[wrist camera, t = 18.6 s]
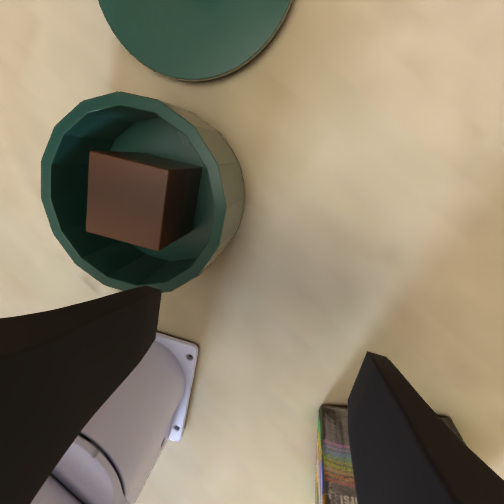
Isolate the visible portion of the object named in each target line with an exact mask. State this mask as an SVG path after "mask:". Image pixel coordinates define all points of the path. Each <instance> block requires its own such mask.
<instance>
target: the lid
mask: <svg viewBox="0 0 504 504" xmlns="http://www.w3.org/2000/svg"><path fill="white" fill-rule="evenodd" d="M98 1H99V4H100V7H101V9H102V11H103V14H104V16H105V18H106V20H107V22H108V24H109V26H110V27H111V29H112V31H113V33H114V34H115V35H116V37H117V38H118V40H119V41H120V42H121V44H122V45H123V46H124V47H125V48H126V49H127V50H128V51H129V53H130V54H131V55H133V56H134V57H135V58H136V59H137V60H139V61H140V62H141V63H142V64H144V65H146V66H147V67H149V68H150V69H152V70H154V71H156V72H158V73H160V74H162V75H164V76H167V77H170V78H173V79H177V80H183V81H206V80H212V79H216V78H219V77H222V76H225V75H228V74H230V73H232V72H234V71H236V70H238V69H240V68H241V67H243V66H244V65H245V64H247V63H248V62H250V61H251V60H252V59H253V58H254V57H256V56H257V55H258V54H259V53H260V52H261V51H262V50H263V49H264V48H265V46H266V45H267V44H268V43H269V42H270V41H271V40H272V38H273V37H274V35H275V34H276V32H277V31H278V29H279V28H280V26H281V24H282V22H283V20H284V18H285V17H286V15H287V13H288V11H289V8H290V5H291V3H292V0H98Z"/></svg>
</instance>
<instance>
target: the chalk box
mask: <svg viewBox="0 0 504 504" xmlns="http://www.w3.org/2000/svg"><path fill="white" fill-rule="evenodd" d="M439 418H440V419H441V420H442V421H443V422H444V423H445V424H446V425H447V426H448V427H449V428H450V429H451V430H452V431H453V432H454V433H455V434H456V436H457V437H458V438H459V439H460V440H461V441H462V442H463V443H464V444H465V442H464V441H463V439H462V437H461V436H460V434H459V432H458V430H457V429H456V427H455V425H454V423H453V422H452V420H451V418H445V417H442V418H441V417H439ZM465 445H466V444H465ZM315 504H357V497H356V489H355V482H354V475H353V467H352V460H351V452H350V445H349V437H348V408H346V407H336V406H329V405H322V406H321V408H320V410H319V417H318V437H317V458H316V487H315Z"/></svg>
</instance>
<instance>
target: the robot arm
mask: <svg viewBox="0 0 504 504" xmlns="http://www.w3.org/2000/svg"><path fill="white" fill-rule="evenodd" d="M161 292H162V290H159V289H156V288H153V287H149V286H141V287H137V288H133V289H129V290H126V291H122V292H119V293H115V294H112V295H108V296H105V297H101V298H98V299H95V300H91V301H87V302H83V303H79V304H75V305H71V306H67V307H63V308H59V309H54V310H50V311H45V312H40V313H34V314H28V315H22V316H16V317H8V318H0V504H134V503H135V501H136V499H137V497H138V496H139V494H140V492H141V490H142V488H143V486H144V484H145V482H146V480H147V478H148V476H149V474H150V472H151V471H152V469H153V467H154V465H155V463H156V461H157V459H158V457H159V455H160V453H161V451H162V449H163V447H164V445H165V444H166V442H167V440H168V439H170V440H173V441H180V440H181V438H182V435H183V430H184V425H185V420H186V415H187V409H188V404H189V399H190V393H191V388H192V383H193V378H194V372H195V367H196V362H197V357H198V351H199V349H198V347H197V346H196V345H195V344H193V343H190V342H187V341H184V340H180V339H177V338H174V337H171V336H167V335H164V334H161V333H158V332H156V331H157V324H158V316H159V308H160V300H161ZM188 354H190V355H192V356H193V357H190V356H189V355H188ZM348 437H349V445H350V452H351V460H352V467H353V475H354V482H355V489H356V497H357V504H504V480H503V479H502V478H500V477H499V476H498V475H497V474H496V473H495V472H494V471H493V470H492V469H491V468H490V467H488V466H487V465H486V464H485V463H484V462H483V461H482V460H481V459H480V458H479V457H478V456H477V455H476V454H475V453H473V452H472V451H471V450H470V449H469V448H468V447H467V446H466V445H465V444H464V443H463V442H462V441H461V440H460V439H459V438H458V437H457V436H456V434H455V433H454V432H453V431H452V430H451V429H450V428H449V427H448V426H447V425H446V424H445V423H444V422H443V421H442V420H441V419H440V418H439V416H438V415H437V414H436V413H435V412H434V411H433V410H432V409H431V408H430V406H429V405H428V404H427V403H426V402H425V401H424V400H423V398H422V397H421V396H420V395H419V394H418V393H417V391H416V390H415V389H414V388H413V387H412V386H411V384H410V383H409V382H408V381H407V380H406V379H405V377H404V376H403V375H402V374H401V373H400V371H399V370H398V369H397V368H396V367H395V366H394V365H393V363H392V362H391V361H390V360H389V359H388V358H387V357H385V356H381V355H378V354H375V353H371V352H368V351H367V353H366V356H365V358H364V361H363V363H362V366H361V368H360V371H359V373H358V376H357V378H356V381H355V383H354V386H353V388H352V391H351V393H350V395H349V398H348Z"/></svg>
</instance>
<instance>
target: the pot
mask: <svg viewBox="0 0 504 504" xmlns="http://www.w3.org/2000/svg"><path fill="white" fill-rule="evenodd" d="M90 151H117V152H141V153H145V154H150V155H154V156H158V157H162V158H166V159H170V160H174V161H179V162H183V163H187V164H191V165H195V166H199V167H202V171H201V177H200V184H199V190H198V196H197V203H196V209H195V215H194V222H193V228H192V231H191V232H190V233H188V234H186V235H185V236H183V237H181V238H180V239H178V240H176V241H175V242H173V243H171V244H170V245H168V246H166V247H165V248H163V249H161V250H160V251H155V250H152V249H148V248H145V247H141V246H137V245H134V244H130V243H127V242H123V241H119V240H116V239H112V238H108V237H105V236H101V235H98V234H94V233H90V232H87V231H86V216H87V195H88V173H89V152H90ZM41 198H42V202H43V205H44V208H45V211H46V214H47V217H48V220H49V223H50V226H51V229H52V232H53V234H54V236H55V237H56V238H57V240H58V241H59V242H60V244H61V245H62V246H63V248H64V249H65V251H66V252H67V253H68V255H69V256H70V257H71V259H72V260H73V261H74V263H75V264H76V265H77V266H79V267H80V268H81V269H83V270H84V271H86V272H87V273H88V274H90V275H91V276H93V277H94V278H95V279H97V280H98V281H99V282H101V283H102V284H104V285H106V286H109V287H112V288H115V289H119V290H122V291H126V290H129V289H133V288H137V287H141V286H149V287H153V288H156V289H159V290H162V292H161V293H163V292H171V291H173V290H175V289H176V288H178V287H180V286H181V285H183V284H185V283H187V282H188V281H190V280H192V279H194V278H195V277H197V276H199V275H200V274H201V273H202V272H203V271H204V270H205V269H206V268H207V266H208V265H209V264H210V263H211V262H212V261H213V260H214V259H215V258H216V257H217V256H218V255H219V254H220V253H221V252H222V251H223V250H224V248H225V247H226V245H227V244H228V243H229V241H230V240H231V239H232V237H233V235H234V234H235V232H236V231H237V230H238V228H239V223H240V221H241V217H242V213H243V208H244V199H245V190H244V182H243V177H242V173H241V169H240V166H239V163H238V161H237V158H236V156H235V154H234V153H233V151H232V149H231V147H230V146H229V144H228V143H227V142H226V140H225V139H224V138H223V137H222V135H221V134H220V133H219V132H218V131H217V130H216V129H214V128H213V127H212V126H211V125H210V124H209V123H207V122H205V121H204V120H202V119H201V118H199V117H198V116H196V115H195V114H194V113H192V112H189V111H187V110H184V109H181V108H178V107H176V106H173V105H170V104H168V103H165V102H162V101H160V100H157V99H152V98H148V97H143V96H138V95H134V94H129V93H125V92H114V93H110V94H107V95H103V96H99V97H95V98H91V99H88V100H84V101H82V102H80V103H79V104H78V105H77V106H76V107H75V108H74V109H73V110H72V111H71V112H70V113H69V114H67V115H66V116H65V117H64V118H63V119H62V120H61V121H60V122H59V123H58V124H57V125H56V126H55V127H54V129H53V132H52V134H51V137H50V139H49V142H48V144H47V147H46V149H45V152H44V155H43V157H42V161H41Z"/></svg>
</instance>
